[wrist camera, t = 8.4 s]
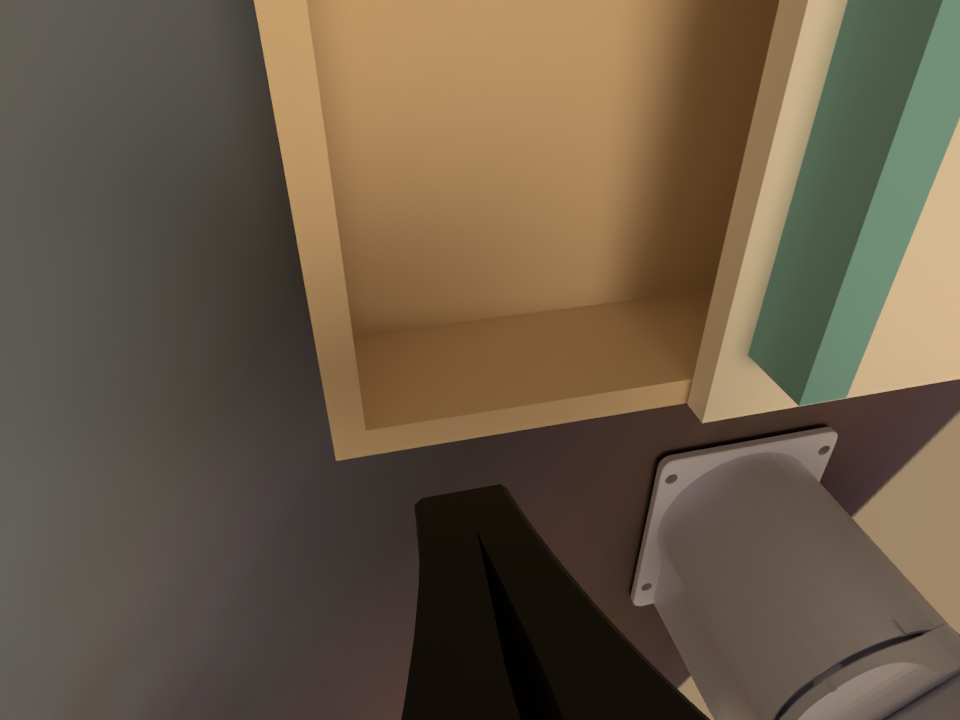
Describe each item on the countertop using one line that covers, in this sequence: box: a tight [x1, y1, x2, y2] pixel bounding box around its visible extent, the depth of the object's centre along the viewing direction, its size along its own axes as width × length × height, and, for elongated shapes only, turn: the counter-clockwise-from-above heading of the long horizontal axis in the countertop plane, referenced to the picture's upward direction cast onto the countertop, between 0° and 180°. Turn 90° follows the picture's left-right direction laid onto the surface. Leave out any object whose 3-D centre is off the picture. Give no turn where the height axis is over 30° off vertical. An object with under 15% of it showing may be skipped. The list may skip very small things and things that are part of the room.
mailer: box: [254, 0, 779, 461], centre depth 16 cm, size 14×20×5 cm
